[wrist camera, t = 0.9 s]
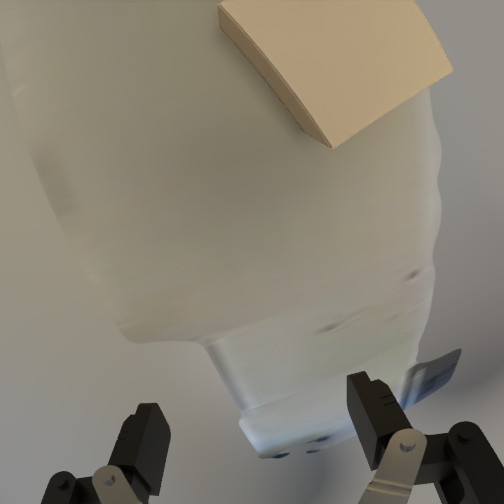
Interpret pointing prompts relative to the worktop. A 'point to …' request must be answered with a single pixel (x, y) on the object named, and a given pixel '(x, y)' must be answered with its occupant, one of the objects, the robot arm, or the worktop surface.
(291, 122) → the worktop surface
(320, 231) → the worktop surface
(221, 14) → the carton
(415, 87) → the lid flap
